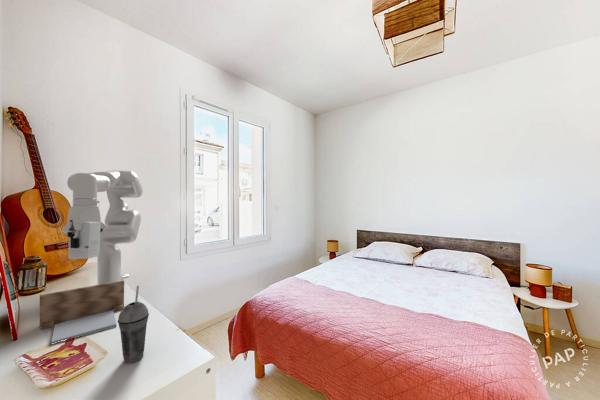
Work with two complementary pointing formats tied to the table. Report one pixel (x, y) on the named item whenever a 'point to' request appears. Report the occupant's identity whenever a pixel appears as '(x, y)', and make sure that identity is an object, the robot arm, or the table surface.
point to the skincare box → (86, 242)
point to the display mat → (83, 326)
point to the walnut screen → (80, 303)
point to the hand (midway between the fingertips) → (85, 245)
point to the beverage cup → (133, 330)
